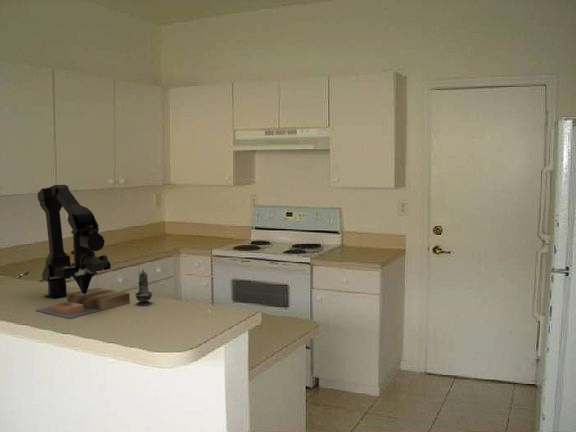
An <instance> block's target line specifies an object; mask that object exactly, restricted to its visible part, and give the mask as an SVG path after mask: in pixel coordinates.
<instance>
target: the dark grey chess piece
mask: <svg viewBox="0 0 576 432" xmlns="http://www.w3.org/2000/svg"><path fill="white" fill-rule="evenodd" d="M148 280H149V279H148V273H147V272H146V271H144V269H142V271H141V272H140V273H139V274H138V281H139V282H137V284H138V288H139V289H138V292H136V293H135V294H134V296H135V297H136V300H137V301H138V302H137V303H136V304H135V305H136V306H139V307H145V306H146V307H147V306H150V305H152V304H153V303H152V302H151V301H150V300H152V296H153V292H150V290H149V281H148Z"/></svg>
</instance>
